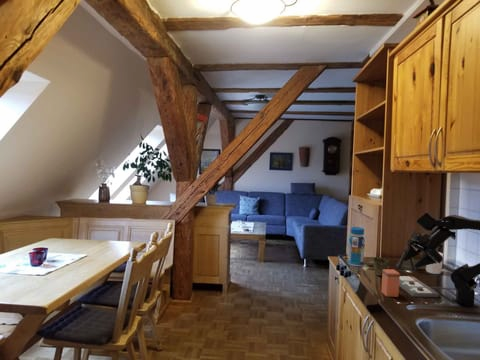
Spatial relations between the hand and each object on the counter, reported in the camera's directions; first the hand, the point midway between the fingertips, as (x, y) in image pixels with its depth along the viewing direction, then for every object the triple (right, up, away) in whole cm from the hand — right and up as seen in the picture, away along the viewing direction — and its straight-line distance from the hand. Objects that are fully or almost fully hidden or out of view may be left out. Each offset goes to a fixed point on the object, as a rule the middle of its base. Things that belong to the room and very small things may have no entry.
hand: (409, 263), depth 142 cm
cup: (-2, -12, +24) cm, 27 cm away
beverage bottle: (-9, -11, +40) cm, 42 cm away
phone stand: (+16, -12, +35) cm, 40 cm away
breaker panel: (+6, -13, +9) cm, 17 cm away
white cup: (+28, -12, +31) cm, 44 cm away
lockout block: (-8, -13, +1) cm, 16 cm away
